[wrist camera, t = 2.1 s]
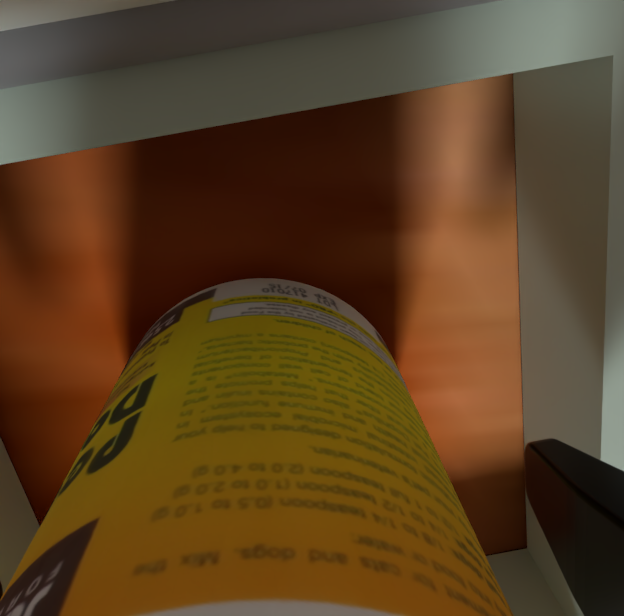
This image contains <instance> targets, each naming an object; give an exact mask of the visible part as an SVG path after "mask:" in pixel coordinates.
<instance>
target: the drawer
mask: <svg viewBox="0 0 624 616" xmlns="http://www.w3.org/2000/svg"><path fill="white" fill-rule="evenodd" d="M511 73H513V89H514V123H515V157H516V190H517V224H518V258H519V291H520V325H521V359H522V392H523V426H524V450H525V446H526V445H527V444H528V443H529V442H531V441H537V440H542V439H548V438H554V439H557V440H559V441H561V442H564V443H566V444H568V445H570V446H572V447H574V448H576V449H578V450H580V451H583V452H585V453H587V454H589V455H591V456H593V457H595V458H597V459H599V460H601V461H604V462H606V463H608V464H610V465H612V466H614V467H616V468H618V469H620V470H623V471H624V0H0V165H2V164H8V163H13V162H19V161H24V160H30V159H36V158H41V157H47V156H52V155H58V154H63V153H69V152H75V151H80V150H86V149H91V148H97V147H103V146H108V145H114V144H119V143H125V142H131V141H136V140H142V139H147V138H153V137H159V136H164V135H170V134H175V133H181V132H186V131H192V130H198V129H203V128H209V127H214V126H220V125H226V124H231V123H237V122H242V121H248V120H254V119H259V118H265V117H270V116H276V115H282V114H287V113H293V112H298V111H304V110H309V109H315V108H321V107H326V106H332V105H337V104H343V103H349V102H354V101H360V100H365V99H371V98H377V97H382V96H388V95H393V94H399V93H405V92H410V91H416V90H421V89H427V88H432V87H438V86H444V85H449V84H455V83H460V82H466V81H472V80H477V79H483V78H488V77H494V76H500V75H505V74H511ZM524 459H525V457H524ZM525 493H526V488H525ZM39 527H40V526H39V523H38V521H37V519H36V517H35V514H34V512H33V510H32V508H31V505H30V503H29V501H28V498H27V496H26V494H25V492H24V489H23V487H22V485H21V483H20V480H19V478H18V476H17V474H16V471H15V469H14V467H13V465H12V462H11V460H10V458H9V456H8V453H7V451H6V449H5V446H4V444H3V442H2V440H1V437H0V581H1V584H2V588H3V594H4V592H5V590H6V588H7V586H8V584H9V583H10V581H11V579H12V577H13V575H14V573H15V571H16V570H17V568H18V566H19V564H20V562H21V560H22V558H23V556H24V555H25V553H26V551H27V549H28V547H29V545H30V543H31V542H32V540H33V538H34V536H35V534H36V532H37V531H38V529H39ZM526 527H527V548H526V549H521V550H516V551H510V552H505V553H499V554H494V555H489V556H486V558H487V560H488V562H489V565H490V567H491V569H492V571H493V573H494V575H495V578H496V580H497V582H498V584H499V586H500V588H501V590H502V592H503V594H504V597H505V599H506V601H507V603H508V605H509V607H510V609H511V611H512V613H513V615H514V616H584V615H583V613H582V611H581V610H580V608H579V606H578V604H577V602H576V601H575V599H574V597H573V595H572V593H571V591H570V589H569V587H568V585H567V583H566V580H565V578H564V576H563V574H562V572H561V570H560V567H559V565H558V563H557V561H556V559H555V557H554V555H553V552H552V550H551V548H550V546H549V544H548V542H547V539H546V537H545V535H544V533H543V531H542V529H541V527H540V524H539V522H538V520H537V518H536V516H535V514H534V511H533V509H532V507H531V505H530V503H529V500H528V497H527V493H526Z"/></svg>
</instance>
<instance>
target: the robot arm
mask: <svg viewBox="0 0 624 616" xmlns="http://www.w3.org/2000/svg"><path fill="white" fill-rule="evenodd" d="M524 457H525V488H526V493H527V497H528V500H529V503H530V505H531V507H532V509H533V511H534V514H535V516H536V518H537V520H538V522H539V524H540V527H541V529H542V531H543V533H544V535H545V537H546V539H547V542H548V544H549V546H550V548H551V550H552V552H553V555H554V557H555V559H556V561H557V563H558V565H559V567H560V570H561V572H562V574H563V576H564V578H565V580H566V583H567V585H568V587H569V589H570V591H571V593H572V595H573V597H574V599H575V601H576V602H577V604H578V606H579V608H580V610H581V611H582V613H583V615H584V616H624V471H623V470H620V469H618V468H616V467H614V466H612V465H610V464H608V463H606V462H604V461H601V460H599V459H597V458H595V457H593V456H591V455H589V454H587V453H585V452H583V451H580V450H578V449H576V448H574V447H572V446H570V445H568V444H566V443H564V442H561V441H559V440H557V439H554V438H548V439H542V440H537V441H531V442H529V443H528V444H527V445H526V446H525V450H524ZM2 595H3V588H2V584H1V581H0V599H1V597H2Z"/></svg>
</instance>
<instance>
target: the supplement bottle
mask: <svg viewBox="0 0 624 616" xmlns="http://www.w3.org/2000/svg"><path fill="white" fill-rule="evenodd" d="M0 616H514V615H513V613H512V611H511V609H510V607H509V605H508V603H507V601H506V599H505V597H504V594H503V592H502V590H501V588H500V586H499V584H498V582H497V580H496V578H495V575H494V573H493V571H492V569H491V567H490V565H489V562H488V560H487V558H486V556H485V553H484V551H483V549H482V547H481V545H480V543H479V541H478V539H477V537H476V534H475V532H474V530H473V528H472V526H471V524H470V522H469V520H468V518H467V516H466V514H465V511H464V509H463V507H462V505H461V503H460V501H459V498H458V496H457V494H456V492H455V490H454V487H453V485H452V483H451V481H450V479H449V477H448V474H447V472H446V471H445V469H444V467H443V465H442V462H441V460H440V458H439V455H438V453H437V451H436V449H435V447H434V445H433V442H432V440H431V438H430V437H429V434H428V432H427V430H426V428H425V426H424V424H423V421H422V419H421V417H420V415H419V413H418V411H417V409H416V407H415V404H414V402H413V400H412V398H411V396H410V394H409V392H408V390H407V387H406V385H405V382H404V380H403V378H402V376H401V374H400V372H399V370H398V368H397V365H396V363H395V361H394V359H393V357H392V355H391V353H390V351H389V349H388V347H387V345H386V344H385V342H384V341H383V339H382V337H381V336H380V335H379V333H378V332H377V331H376V329H375V328H374V327H373V326H372V325H371V324H370V323H369V322H368V320H367V319H366V318H364V317H363V316H362V315H361V314H360V313H359V312H358V311H356V310H355V309H354V308H353V307H352V306H350V305H349V304H347V303H346V302H344V301H343V300H341V299H339V298H338V297H336V296H334V295H332V294H330V293H328V292H326V291H324V290H322V289H319V288H316V287H313V286H310V285H307V284H304V283H300V282H296V281H290V280H284V279H275V278H252V279H242V280H235V281H231V282H226V283H222V284H219V285H215V286H213V287H210V288H207V289H204V290H202V291H200V292H197V293H195V294H193V295H192V296H190V297H188V298H186V299H184V300H183V301H181V302H180V303H178V304H177V305H175V306H174V307H173V308H171V309H170V310H169V311H167V312H166V313H165V314H164V315H163V316H162V317H161V318H159V319H158V321H157V322H156V323H155V324H154V325H153V326H152V327H151V328H150V329H149V330H148V332H147V333H146V334H145V336H144V337H143V339H142V340H141V341H140V343H139V344H138V346H137V348H136V349H135V351H134V352H133V354H132V356H131V357H130V359H129V361H128V363H127V364H126V366H125V368H124V370H123V371H122V373H121V375H120V377H119V379H118V381H117V383H116V384H115V386H114V388H113V390H112V392H111V394H110V396H109V398H108V400H107V402H106V404H105V405H104V407H103V409H102V411H101V413H100V414H99V416H98V418H97V420H96V422H95V424H94V425H93V427H92V429H91V431H90V433H89V435H88V437H87V439H86V441H85V442H84V444H83V446H82V448H81V450H80V452H79V454H78V456H77V458H76V459H75V461H74V463H73V465H72V467H71V469H70V471H69V472H68V474H67V476H66V478H65V480H64V482H63V483H62V485H61V487H60V489H59V491H58V493H57V495H56V497H55V499H54V501H53V503H52V505H51V506H50V508H49V510H48V512H47V514H46V516H45V518H44V520H43V521H42V523H41V525H40V527H39V529H38V531H37V532H36V534H35V536H34V538H33V540H32V542H31V543H30V545H29V547H28V549H27V551H26V553H25V555H24V556H23V558H22V560H21V562H20V564H19V566H18V568H17V570H16V571H15V573H14V575H13V577H12V579H11V581H10V583H9V584H8V586H7V588H6V590H5V592H4V594H3V595H2V597H1V599H0Z"/></svg>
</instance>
